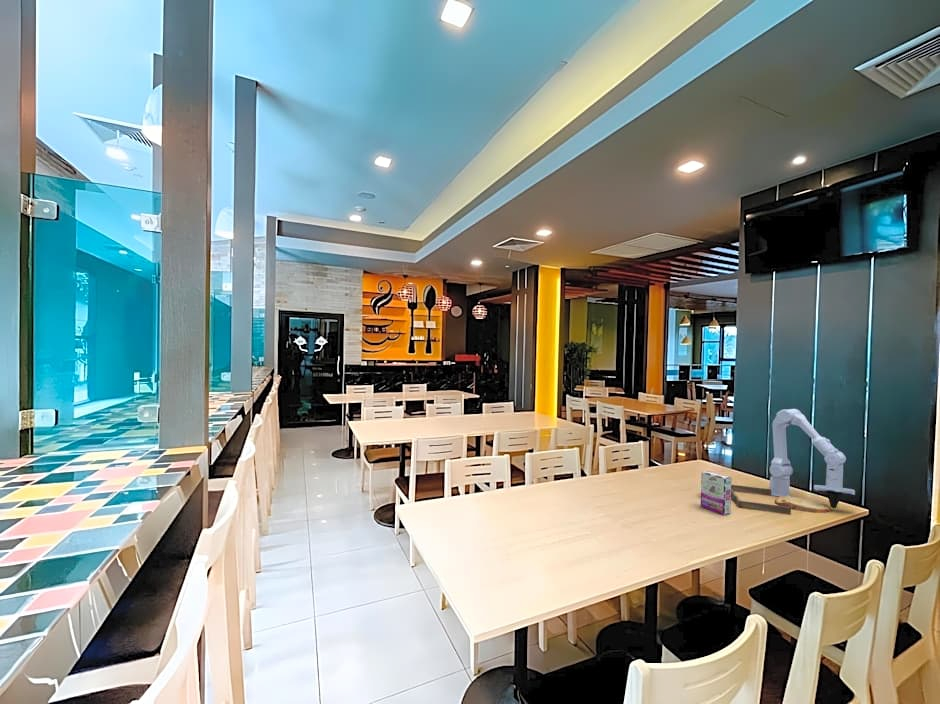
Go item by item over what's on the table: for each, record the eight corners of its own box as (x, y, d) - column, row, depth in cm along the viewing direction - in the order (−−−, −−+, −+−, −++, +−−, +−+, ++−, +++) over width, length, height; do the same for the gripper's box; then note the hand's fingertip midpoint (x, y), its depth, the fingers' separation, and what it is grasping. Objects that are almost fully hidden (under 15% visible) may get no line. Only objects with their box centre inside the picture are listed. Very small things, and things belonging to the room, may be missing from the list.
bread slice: (834, 511, 190) (834, 503, 190) (816, 518, 181) (816, 509, 181) (789, 497, 206) (789, 490, 206) (770, 503, 197) (770, 496, 197)
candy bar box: (731, 513, 183) (732, 477, 183) (724, 515, 180) (725, 478, 180) (706, 504, 193) (707, 470, 192) (699, 506, 190) (701, 471, 190)
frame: (724, 489, 215) (725, 483, 215) (770, 495, 208) (770, 489, 208) (738, 507, 190) (738, 501, 190) (790, 514, 184) (790, 507, 184)
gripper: (819, 478, 188) (817, 508, 188) (859, 482, 183) (857, 513, 183) (812, 474, 195) (811, 502, 195) (850, 478, 190) (849, 507, 190)
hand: (833, 507), depth 190 cm, fingers closed
